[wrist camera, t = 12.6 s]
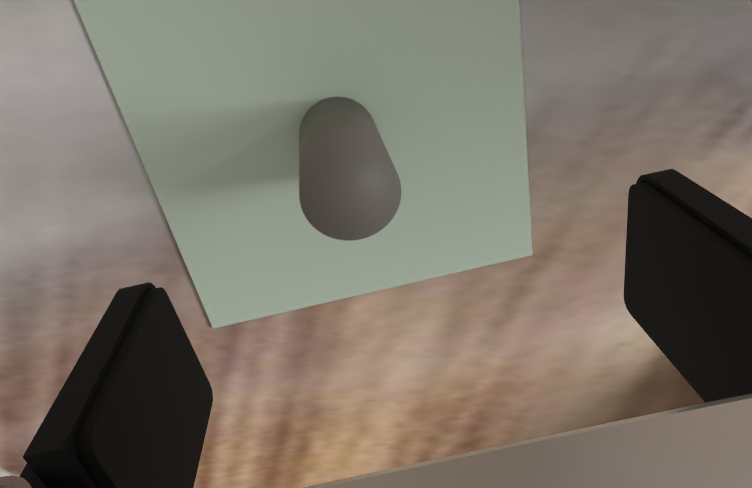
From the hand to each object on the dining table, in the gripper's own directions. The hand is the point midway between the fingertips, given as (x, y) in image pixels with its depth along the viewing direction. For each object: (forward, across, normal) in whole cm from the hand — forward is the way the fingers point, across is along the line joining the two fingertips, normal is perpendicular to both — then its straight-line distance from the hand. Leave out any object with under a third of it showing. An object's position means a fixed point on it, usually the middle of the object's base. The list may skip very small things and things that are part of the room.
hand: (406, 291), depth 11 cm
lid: (+12, +1, 0) cm, 12 cm away
